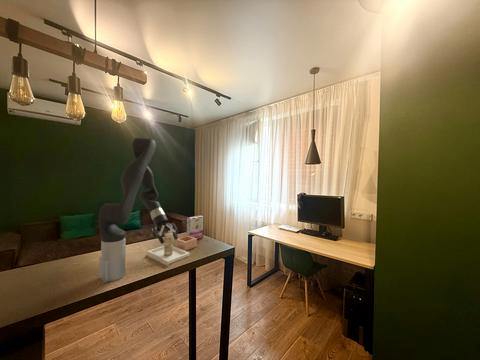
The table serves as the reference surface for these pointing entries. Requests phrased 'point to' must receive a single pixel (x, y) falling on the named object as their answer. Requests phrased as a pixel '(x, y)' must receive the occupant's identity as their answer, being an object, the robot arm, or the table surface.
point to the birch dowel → (168, 244)
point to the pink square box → (186, 242)
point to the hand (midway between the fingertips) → (170, 240)
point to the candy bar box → (195, 226)
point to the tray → (166, 260)
